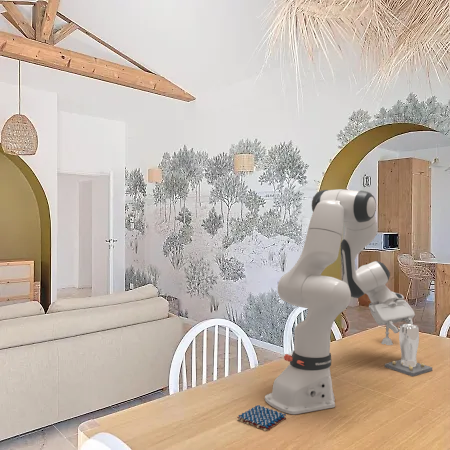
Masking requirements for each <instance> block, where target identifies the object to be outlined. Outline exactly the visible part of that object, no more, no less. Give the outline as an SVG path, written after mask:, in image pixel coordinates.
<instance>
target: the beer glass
mask: <svg viewBox="0 0 450 450" xmlns="http://www.w3.org/2000/svg"><path fill="white" fill-rule="evenodd" d="M399 330H400V331H399V332H398V340H399V347H400V352H401V353H400V355H401V358H400V360H401V362H400V365H401V366H403V367H407V368H409V366H412V367H413V368H416V367H417V363H418V361H417V353H418V349H419V344H420V331H419V330H420V329H419V326H418V325H416V324H413V325H412V324H408V323H402V324H399Z"/></svg>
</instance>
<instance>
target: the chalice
mask: <svg viewBox="0 0 450 450" xmlns="http://www.w3.org/2000/svg"><path fill="white" fill-rule="evenodd" d="M389 330H390V328H389V327H387V325H386V324H385V337H384V338H382V340H381V342H380V343H381V345H384V344H386V346H393V345H394V343H393V340H392V338H390V337H389V334H390V332H389Z"/></svg>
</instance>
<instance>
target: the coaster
mask: <svg viewBox="0 0 450 450" xmlns="http://www.w3.org/2000/svg"><path fill="white" fill-rule="evenodd" d="M400 362H401V359H398V360H397V359H396V360H392V361H390V362H387V363H384V368H387V369H390V370H391V371H392V370H393V371H396V372H398V373H401V374H404V375H407V376H411V377H416V376H419V375H422V374H426V373H429V372H432V371H433V367H432V366H429V365H426V364H425V363H424V362H421V363H420V362H417V367H416V368H413V367H412V366H409V368H407V367H403V366H401V365H400Z"/></svg>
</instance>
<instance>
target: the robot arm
mask: <svg viewBox="0 0 450 450" xmlns="http://www.w3.org/2000/svg"><path fill="white" fill-rule="evenodd" d="M311 210H312V215H311V217H310V219H309V220H310V221H309V224H308V226H307V227H308V228H307V231H306V232H307V233H306V238H305V241H304V244H303V248H302V250H301V251H302V252H301V254H300V257H299V258H298V260H297V261H296V262H295V264H294V265H293V267H292V268H291V269H290V270H289V271H288V272H286V273H285V274H283V275H282V276H281V277H280V278H279V281H278V284H277V293H278V297H279V298H280V299H281V300H282V301H284V302H285V303H288V304H289V305H291V306H294V307H299V308H302V309H303V308H304V309H307V315H306V318H305V319H304V320H301V321H300V322H299V323H298V324H297V325H296V326H295V328H294V343H293V344H294V347H293V349H294V350H293V352H292V354H291V355H290V354H287V353H284V356H283V360H284V361H287V362H289V365H288V366H287V367H286V368H285V369H284V370H283V371H282V372H281V373H280V374H279V375H277V377H276V378H275V379H274V381H273V386H272V391H271V392H270V393H268V394H265V396H264V401H265V402H266V403H267V404H268V405H269V406H271V407H272V408H275V409H276V410H277V411H279V412H282V413H284V414H289V415H299V414H304V413H305V414H306V413H309V412H316V411H320V410H321V411H323V410H326V409H331V408H335V407H336V402H335V400H336V398H335V394H334V390H333V382H332V376H331V373H332V372H331V366H332V354H331V352H330V351H331V332H332V329H333V328H332V327H333V325H334V322H335V320H336V318H337V317H338V316H339V315H340V314H341V313H343V312H344V311H346V309H347V308H348V306H350V303H351V299H352V298H353V299H354V298H355V299H359V298H361V297H362V296H364V295H365V294H366V295H367V297H368V299H369V301H370V303H369V304H368V309H369V310H370V314H371V315H372V317H373V319H374V321H375V323H376V324H377V325H378V326H383V325H385V326H386V325H387V327H389V330H392V331H393V333H394V334H399V331H400V328H399V327H398V326H396V325H395V324H394V323H400V322H405V324H412V325H414V322H413V318H414V317H415V316H416V314H415V313H416V312H415V310H414V309H413V308H412V307H411V306H410V304H409V303H408V301H406V300H405V297H404V295H403V294H401V293H398V292H394V291H392V290H390V288H388V286H387V285H386V284H388V282H389V280H390V276H391V272H390V270H389V269H388V267H387V266H386V265H385V264H384V263H383V262H380V261H377V260H374V261H372V262H370V263H368V264H363V265H360V266H359V267H358V268H357V269H356V259H357V257H358V255H359V254H360V253H361V251H363V250H364V249H365V248H366V247H367V246H368V245H370V244H371V243H372V242H373V241H374V239H375V238H376V236H377V234H378V233H377V232H378V223H377V219H376V215H375V214H376V210H377V202H376V198H375V196H374V195H372V193H371V192H369V191H365V190H351V189H343V188H342V189H341V188H340V189H322V190H319V191H317V192H316V193H315V194H314V195H313V197H312V199H311ZM344 227H345V232H344V237H343V231H344ZM342 238H343V239H342ZM339 253H340V260H341V270H342V271H341V272H342V278H341V279H340V278H336V277H334V276H327V275H322V273H323V272H324V271H325V269H326V268H328V267H329V266H330V265H333V264H334V263H335V262H336V261H337V260H338V258H339Z"/></svg>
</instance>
